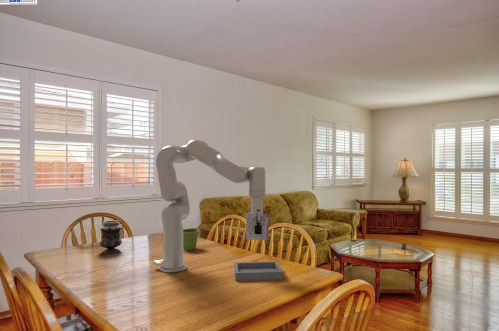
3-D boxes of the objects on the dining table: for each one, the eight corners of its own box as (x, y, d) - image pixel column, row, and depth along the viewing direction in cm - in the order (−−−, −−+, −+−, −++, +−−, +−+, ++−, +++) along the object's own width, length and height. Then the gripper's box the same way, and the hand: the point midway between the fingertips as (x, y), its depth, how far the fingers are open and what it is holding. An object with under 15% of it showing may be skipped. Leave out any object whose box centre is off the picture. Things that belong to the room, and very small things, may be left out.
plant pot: (189, 245, 209) (189, 227, 209) (203, 248, 202) (203, 229, 202) (175, 249, 200) (175, 230, 200) (189, 252, 193) (189, 233, 193)
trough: (235, 281, 145) (235, 273, 145) (234, 269, 161) (234, 262, 161) (283, 279, 147) (283, 271, 147) (277, 268, 163) (277, 261, 163)
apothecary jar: (126, 251, 196) (126, 220, 196) (108, 256, 186) (108, 223, 186) (113, 248, 203) (113, 218, 203) (95, 253, 193) (95, 221, 193)
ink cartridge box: (268, 238, 156) (268, 207, 156) (267, 240, 150) (267, 208, 150) (248, 237, 158) (248, 206, 158) (245, 239, 152) (245, 208, 152)
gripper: (247, 192, 162) (247, 229, 162) (250, 195, 145) (250, 236, 145) (263, 192, 163) (263, 228, 163) (267, 195, 146) (267, 236, 146)
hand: (257, 232), depth 154 cm, fingers closed on ink cartridge box, 6 cm apart
